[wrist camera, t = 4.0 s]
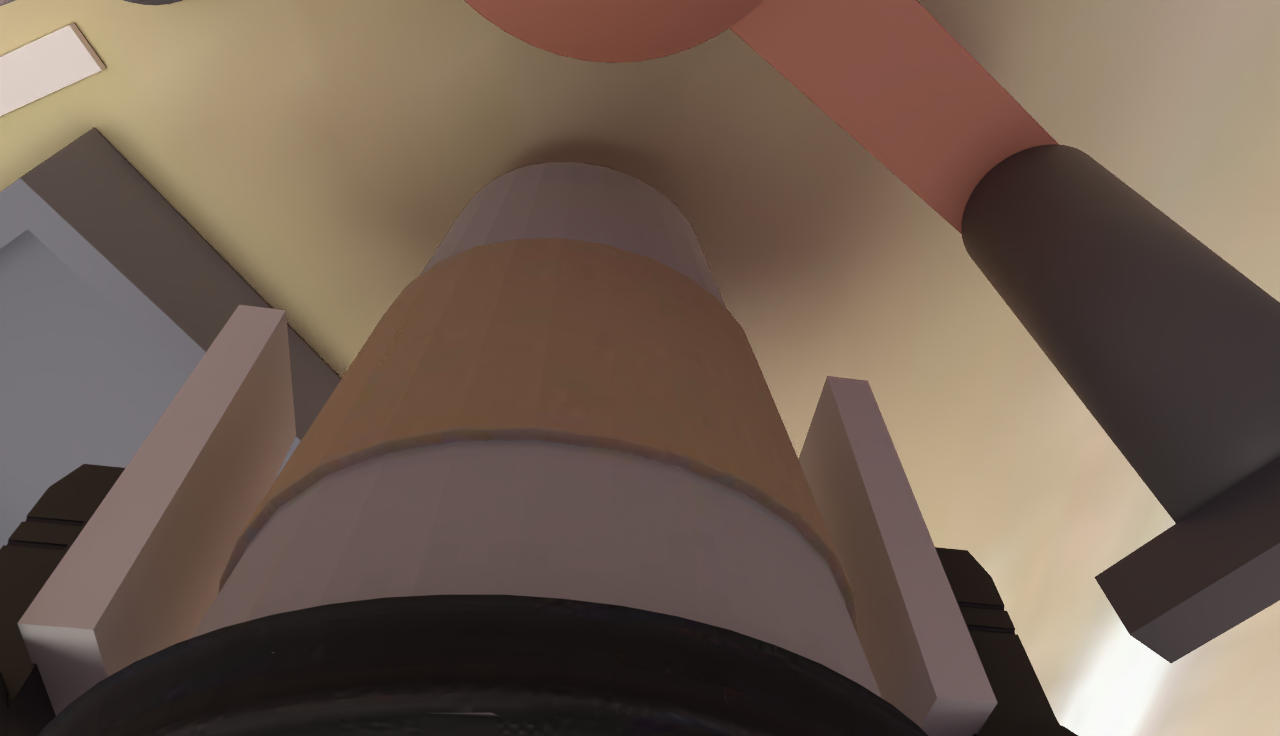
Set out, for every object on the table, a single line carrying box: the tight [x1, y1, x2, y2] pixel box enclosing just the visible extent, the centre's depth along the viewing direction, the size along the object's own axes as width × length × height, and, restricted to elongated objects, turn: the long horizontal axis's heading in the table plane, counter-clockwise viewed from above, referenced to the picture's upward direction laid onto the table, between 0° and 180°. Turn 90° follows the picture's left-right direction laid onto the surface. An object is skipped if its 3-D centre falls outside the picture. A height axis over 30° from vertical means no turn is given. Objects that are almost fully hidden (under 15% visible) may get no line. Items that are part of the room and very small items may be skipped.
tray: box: [0, 128, 341, 549], centre depth 24 cm, size 14×14×3 cm
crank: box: [464, 0, 1280, 663], centre depth 10 cm, size 13×6×10 cm, turn 51°
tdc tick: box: [0, 23, 106, 116], centre depth 19 cm, size 4×1×1 cm, turn 111°
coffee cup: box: [38, 162, 928, 736], centre depth 13 cm, size 9×9×15 cm
